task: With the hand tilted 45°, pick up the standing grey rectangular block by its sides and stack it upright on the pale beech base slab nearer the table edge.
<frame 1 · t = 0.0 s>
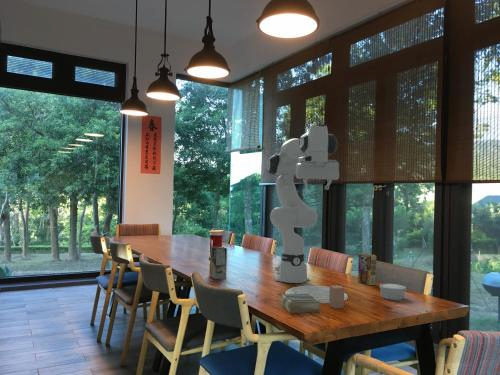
hand: (317, 189, 180), 48 cm above the table, tool pointing down, fingers open, 8 cm apart
ceiling medallion: (316, 296, 180), on the table
coffee box: (217, 277, 213), on the table
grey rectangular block: (336, 306, 162), on the table
candy box: (366, 283, 207), on the table
ramekin: (392, 298, 179), on the table
base block: (299, 307, 158), on the table
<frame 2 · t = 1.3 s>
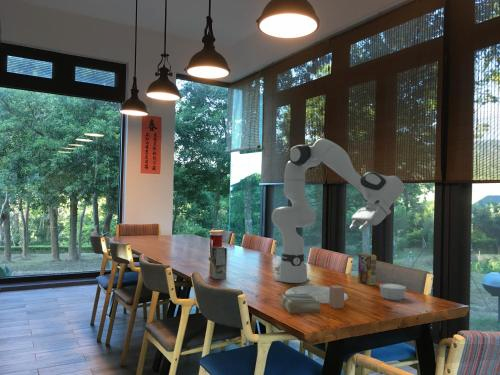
hand: (355, 229, 170), 31 cm above the table, tool tilted 45°, fingers open, 8 cm apart
nothing on the table moved.
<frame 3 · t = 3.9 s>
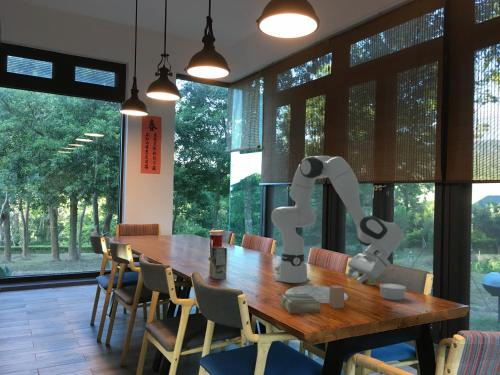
hand: (352, 279, 164), 11 cm above the table, tool tilted 45°, fingers open, 8 cm apart
nothing on the table moved.
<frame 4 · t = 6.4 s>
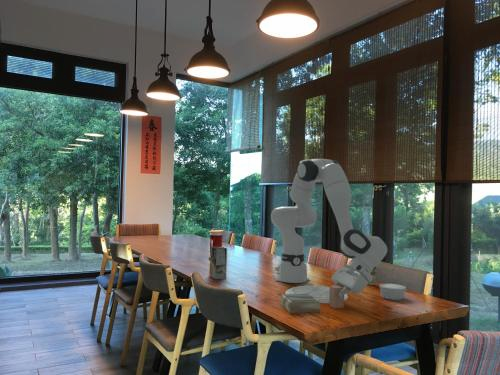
hand: (335, 294, 162), 5 cm above the table, tool tilted 45°, fingers closed on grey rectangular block, 4 cm apart
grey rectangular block: (336, 306, 162), on the table, touching gripper
everything else where it was.
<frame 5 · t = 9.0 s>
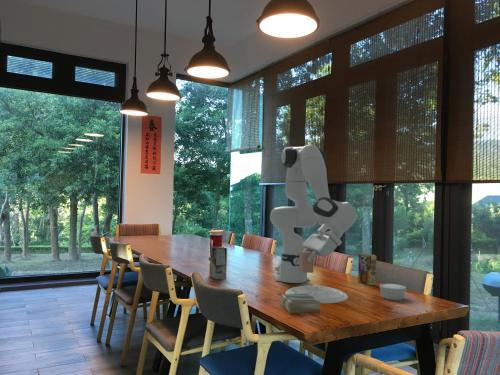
hand: (304, 259, 159), 19 cm above the table, tool tilted 45°, fingers closed on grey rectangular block, 4 cm apart
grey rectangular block: (305, 271, 159), point 14 cm above the table, touching gripper
everything else where it was.
when the fingers open (10 cm above the table, at t = 11.7 s): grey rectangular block drops 1 cm, resting on base block.
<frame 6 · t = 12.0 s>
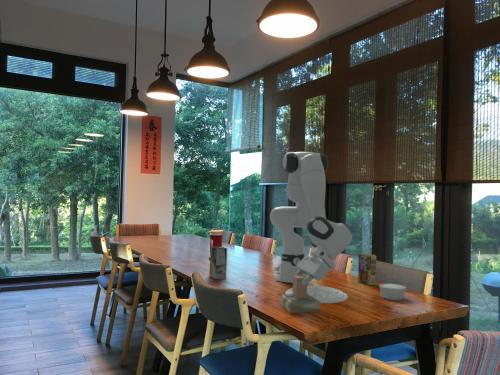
hand: (298, 281, 159), 10 cm above the table, tool tilted 45°, fingers open, 7 cm apart
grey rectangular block: (299, 296, 159), point 4 cm above the table, touching base block
everything else where it was.
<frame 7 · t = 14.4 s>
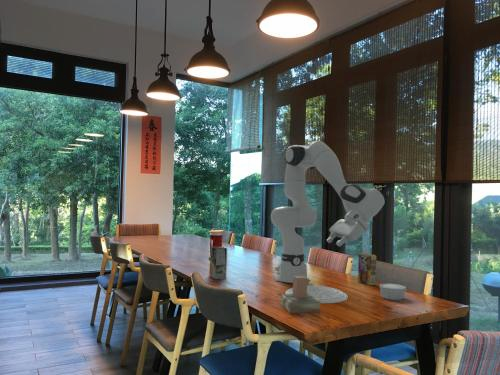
hand: (332, 243, 165), 25 cm above the table, tool tilted 45°, fingers open, 8 cm apart
nothing on the table moved.
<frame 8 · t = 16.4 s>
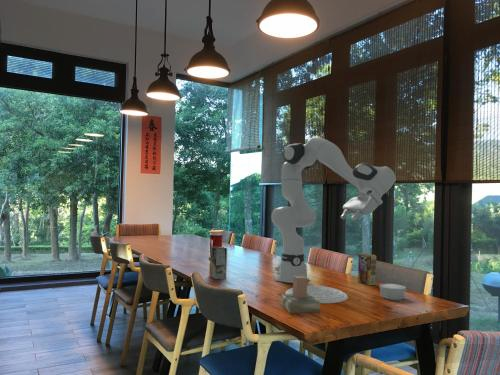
hand: (347, 218, 171), 35 cm above the table, tool tilted 45°, fingers open, 8 cm apart
nothing on the table moved.
at the end: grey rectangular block inside the target area on the base block (0.0 cm from its centre), point 4.3 cm above the base block's base; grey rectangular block tilted 0°; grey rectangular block touching base block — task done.
